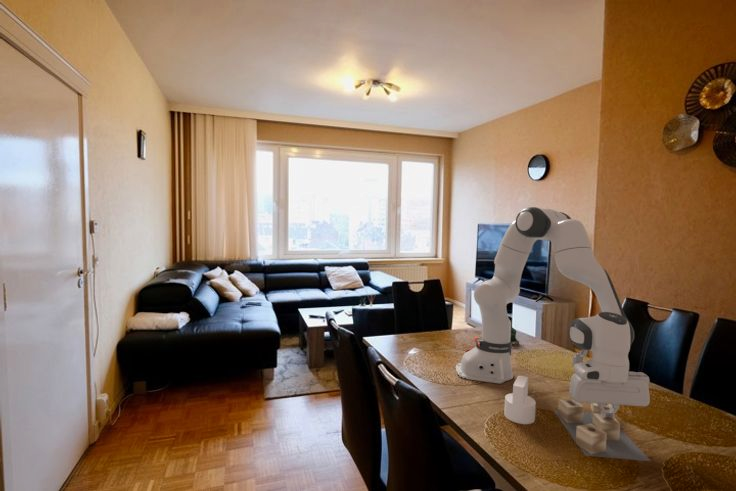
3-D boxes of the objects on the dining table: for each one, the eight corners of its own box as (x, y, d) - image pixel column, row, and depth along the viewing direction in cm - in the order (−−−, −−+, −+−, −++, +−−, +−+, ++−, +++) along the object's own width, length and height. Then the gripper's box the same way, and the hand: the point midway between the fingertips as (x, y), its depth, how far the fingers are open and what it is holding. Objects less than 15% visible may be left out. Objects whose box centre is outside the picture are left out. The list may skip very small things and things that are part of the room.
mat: (585, 457, 99) (585, 455, 99) (552, 411, 123) (552, 409, 122) (651, 463, 97) (651, 461, 97) (605, 415, 120) (605, 413, 120)
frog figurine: (483, 337, 200) (483, 316, 200) (515, 336, 202) (516, 315, 201) (497, 348, 183) (498, 325, 182) (532, 348, 184) (533, 325, 183)
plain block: (600, 439, 106) (601, 422, 106) (592, 429, 111) (593, 413, 111) (619, 440, 105) (620, 423, 105) (610, 430, 110) (611, 414, 110)
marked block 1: (567, 423, 114) (568, 406, 114) (558, 414, 119) (558, 398, 119) (583, 422, 115) (584, 406, 114) (573, 414, 120) (574, 398, 119)
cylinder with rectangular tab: (532, 429, 112) (534, 390, 111) (501, 420, 117) (502, 382, 116) (536, 416, 120) (538, 379, 119) (507, 408, 124) (508, 373, 124)
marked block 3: (591, 454, 99) (592, 435, 99) (575, 443, 104) (576, 425, 104) (605, 451, 101) (606, 432, 100) (589, 440, 105) (590, 422, 105)
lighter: (575, 366, 161) (576, 348, 160) (572, 365, 162) (573, 347, 162) (588, 364, 163) (589, 346, 162) (584, 363, 165) (585, 345, 164)
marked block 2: (592, 420, 116) (593, 404, 116) (590, 413, 121) (591, 397, 120) (611, 424, 114) (612, 407, 114) (608, 416, 119) (609, 400, 118)
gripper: (642, 368, 109) (640, 414, 110) (568, 364, 111) (566, 409, 112) (656, 377, 102) (653, 426, 103) (577, 372, 105) (574, 420, 106)
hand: (607, 417), depth 108 cm, fingers closed
